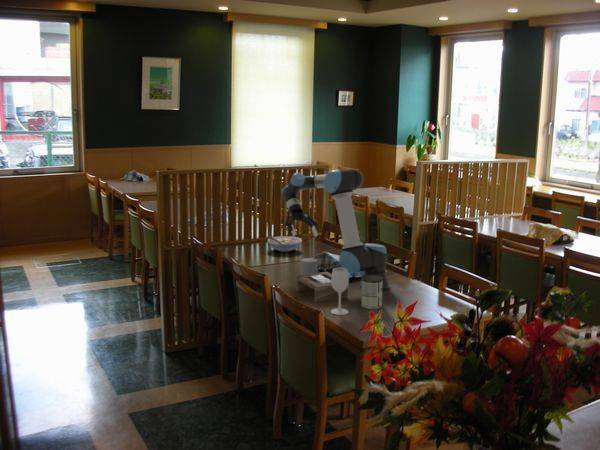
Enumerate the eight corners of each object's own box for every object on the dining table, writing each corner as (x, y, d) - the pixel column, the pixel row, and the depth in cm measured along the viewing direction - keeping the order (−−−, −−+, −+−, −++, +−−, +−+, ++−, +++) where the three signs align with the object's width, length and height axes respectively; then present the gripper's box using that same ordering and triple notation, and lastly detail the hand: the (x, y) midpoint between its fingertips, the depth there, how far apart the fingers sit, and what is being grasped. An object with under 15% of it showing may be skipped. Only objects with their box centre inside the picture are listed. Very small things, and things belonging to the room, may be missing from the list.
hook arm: (334, 285, 319) (334, 281, 319) (323, 287, 317) (323, 283, 316) (319, 278, 333) (319, 274, 332) (309, 279, 330) (309, 276, 330)
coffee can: (359, 302, 313) (360, 274, 310) (380, 302, 313) (381, 274, 310) (362, 309, 303) (362, 280, 300) (383, 308, 303) (384, 280, 300)
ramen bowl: (308, 253, 410) (308, 241, 408) (274, 256, 402) (274, 244, 400) (294, 245, 433) (294, 233, 431) (262, 248, 424) (262, 236, 423)
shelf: (347, 297, 320) (347, 282, 319) (316, 302, 312) (316, 286, 311) (326, 286, 339) (326, 271, 338) (296, 290, 332) (296, 275, 330)
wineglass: (337, 308, 304) (338, 265, 300) (352, 311, 299) (353, 268, 294) (326, 312, 297) (327, 269, 293) (341, 316, 292) (342, 272, 288)
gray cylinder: (315, 284, 342) (315, 262, 340) (298, 283, 344) (298, 261, 341) (318, 279, 351) (319, 258, 349) (302, 278, 353) (302, 257, 351)
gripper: (311, 213, 370) (322, 240, 357) (272, 211, 359) (283, 239, 345) (316, 204, 365) (327, 231, 352) (277, 202, 354) (287, 229, 341)
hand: (305, 235), depth 349 cm, fingers open, 13 cm apart
